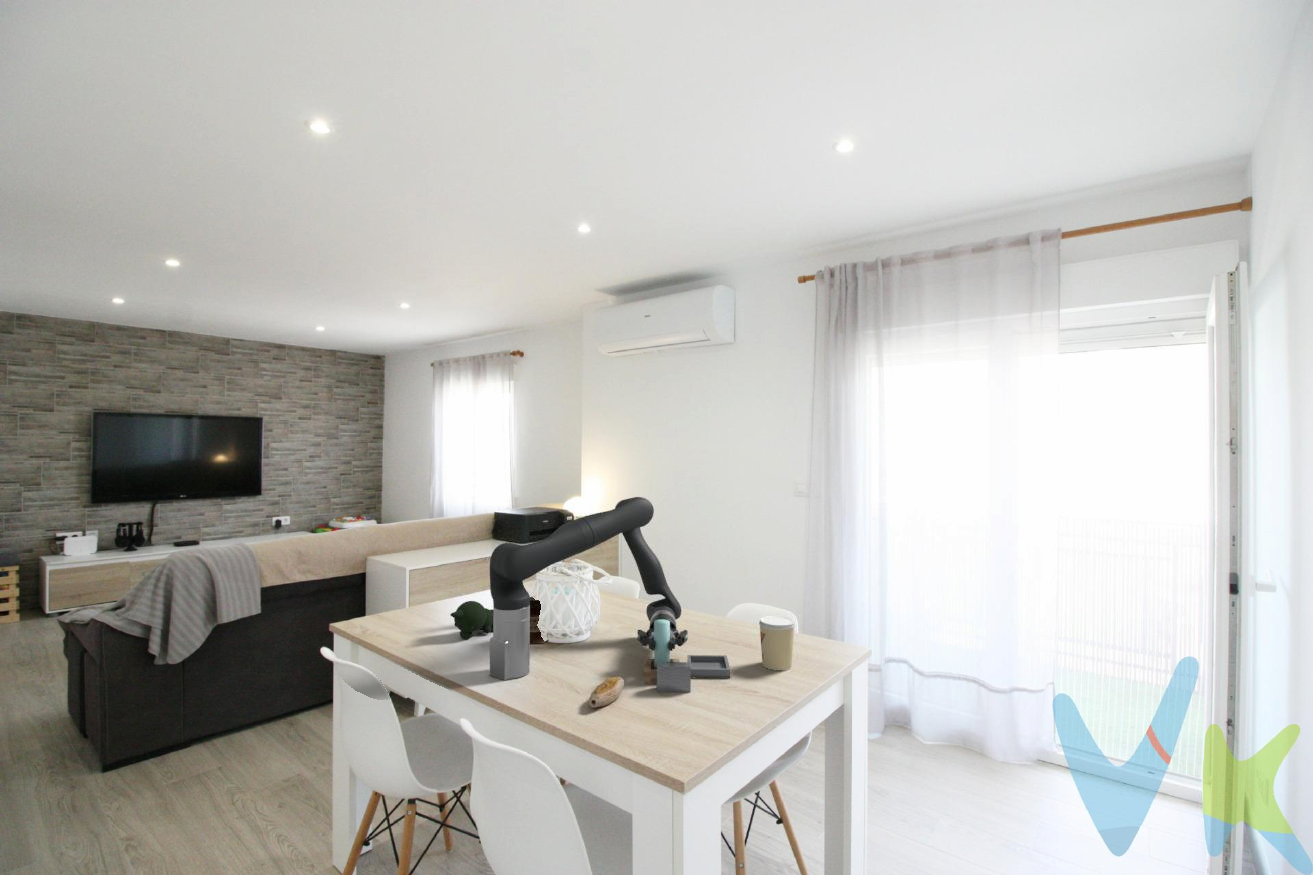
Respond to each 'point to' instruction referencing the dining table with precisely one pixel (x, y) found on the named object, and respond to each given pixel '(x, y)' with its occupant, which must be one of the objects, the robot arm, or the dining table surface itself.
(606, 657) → the dining table surface
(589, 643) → the dining table surface
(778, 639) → the coffee cup
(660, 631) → the dowel
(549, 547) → the robot arm
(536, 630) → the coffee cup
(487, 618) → the toy figurine
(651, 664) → the socket
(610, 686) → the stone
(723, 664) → the tray
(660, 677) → the gray rectangular block
